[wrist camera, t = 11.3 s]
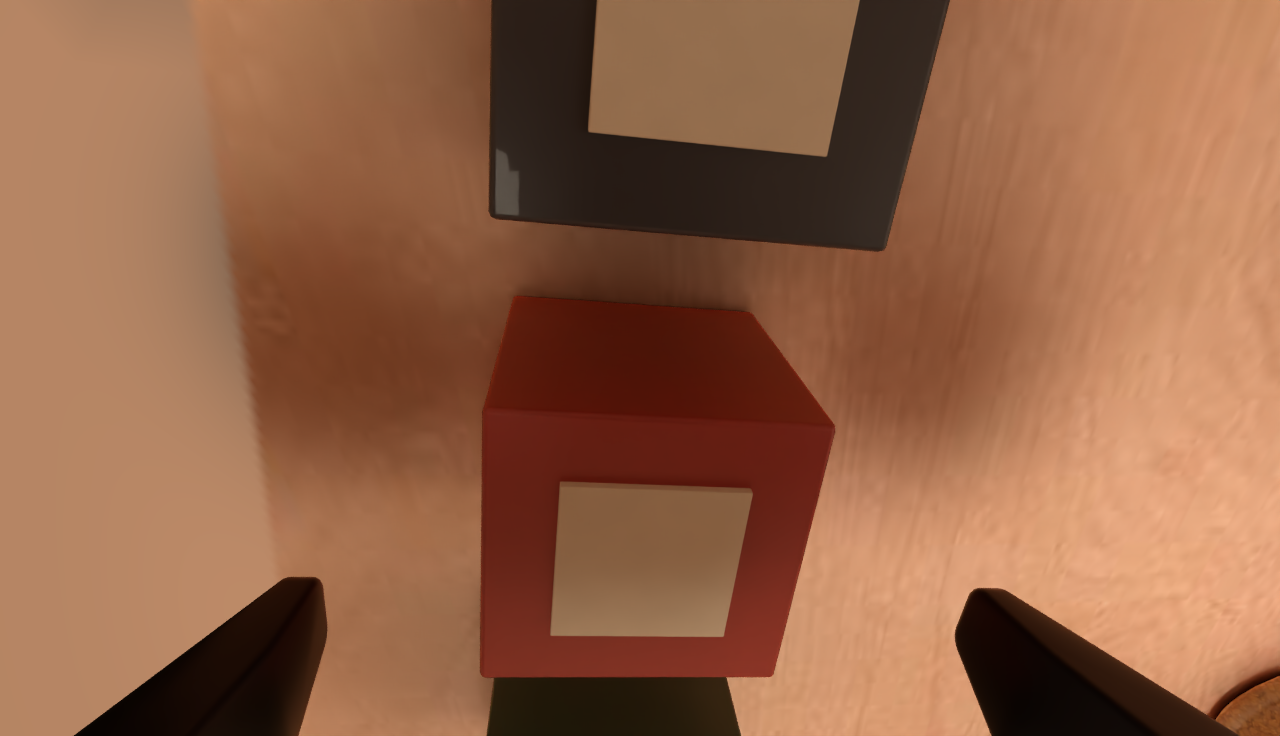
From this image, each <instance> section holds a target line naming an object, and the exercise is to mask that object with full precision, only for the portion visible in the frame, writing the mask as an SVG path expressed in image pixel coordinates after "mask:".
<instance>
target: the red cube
mask: <svg viewBox="0 0 1280 736" xmlns="http://www.w3.org/2000/svg"><path fill="white" fill-rule="evenodd" d="M834 434H835V425H834V423H833V422H832V421H831V419H830V418H829V417H828V415H827V414H826V413H825V411H824V410H823V408H822V407H821V406H820V404H819V403H818V402H817V400H816V399H815V398H814V396H813V395H812V394H811V392H810V391H809V390H808V388H807V387H806V386H805V384H804V383H803V381H802V380H801V379H800V377H799V376H798V375H797V373H796V372H795V371H794V369H793V368H792V367H791V365H790V364H789V363H788V361H787V360H786V359H785V357H784V356H783V354H782V353H781V352H780V350H779V349H778V348H777V346H776V345H775V344H774V342H773V341H772V340H771V338H770V337H769V336H768V334H767V333H766V332H765V330H764V329H763V327H762V326H761V325H760V323H759V322H758V321H757V319H756V318H755V317H754V315H753V314H752V313H750V312H739V311H725V310H711V309H697V308H683V307H668V306H654V305H640V304H626V303H612V302H597V301H583V300H569V299H555V298H541V297H527V296H515V297H514V298H513V300H512V304H511V307H510V311H509V315H508V318H507V322H506V326H505V330H504V333H503V337H502V341H501V344H500V348H499V352H498V356H497V359H496V363H495V367H494V370H493V374H492V378H491V381H490V385H489V389H488V393H487V396H486V400H485V404H484V407H483V411H482V501H481V612H480V673H481V675H482V677H485V678H497V677H771V676H772V675H773V674H774V670H775V666H776V662H777V658H778V654H779V650H780V646H781V642H782V639H783V635H784V631H785V627H786V623H787V619H788V615H789V611H790V607H791V603H792V599H793V595H794V591H795V587H796V583H797V579H798V576H799V572H800V568H801V564H802V560H803V556H804V552H805V548H806V544H807V540H808V536H809V532H810V528H811V524H812V520H813V517H814V513H815V509H816V505H817V501H818V497H819V493H820V489H821V485H822V481H823V477H824V473H825V469H826V465H827V461H828V457H829V454H830V450H831V446H832V442H833V438H834Z"/></svg>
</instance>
